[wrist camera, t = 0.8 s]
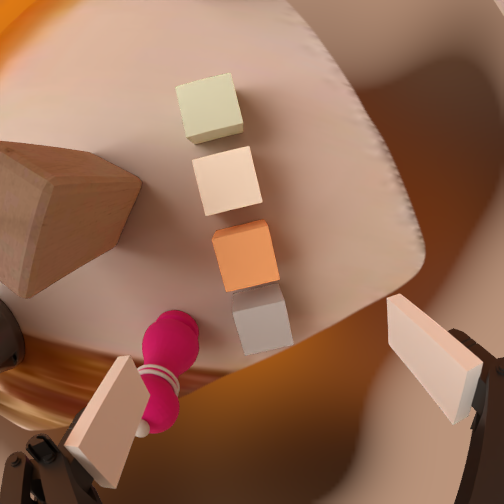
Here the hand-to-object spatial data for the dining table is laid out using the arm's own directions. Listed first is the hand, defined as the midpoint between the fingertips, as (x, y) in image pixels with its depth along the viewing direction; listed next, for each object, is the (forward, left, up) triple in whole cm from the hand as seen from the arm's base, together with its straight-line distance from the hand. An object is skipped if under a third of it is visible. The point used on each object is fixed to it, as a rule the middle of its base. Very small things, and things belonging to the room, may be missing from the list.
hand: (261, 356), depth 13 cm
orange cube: (0, 0, -24) cm, 24 cm away
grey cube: (0, -8, -24) cm, 26 cm away
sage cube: (0, +17, -24) cm, 30 cm away
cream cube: (0, +9, -24) cm, 26 cm away
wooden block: (-17, +11, -25) cm, 32 cm away
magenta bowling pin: (-12, -9, -25) cm, 29 cm away
